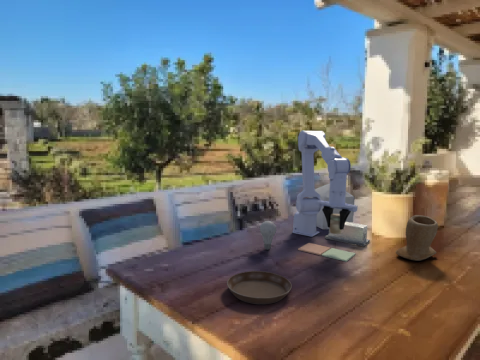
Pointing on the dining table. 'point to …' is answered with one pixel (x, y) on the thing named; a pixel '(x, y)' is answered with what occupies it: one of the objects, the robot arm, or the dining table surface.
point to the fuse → (335, 224)
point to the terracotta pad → (314, 249)
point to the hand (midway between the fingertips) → (335, 228)
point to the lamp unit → (351, 234)
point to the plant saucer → (259, 287)
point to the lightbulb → (267, 233)
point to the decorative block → (325, 197)
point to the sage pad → (338, 254)
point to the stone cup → (419, 238)
